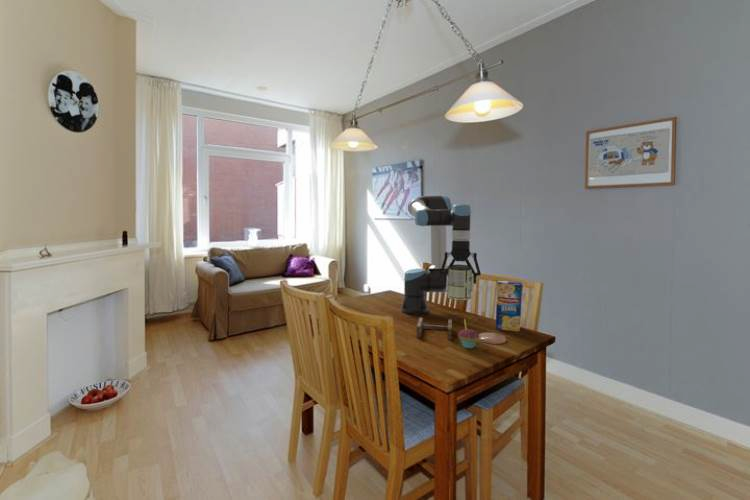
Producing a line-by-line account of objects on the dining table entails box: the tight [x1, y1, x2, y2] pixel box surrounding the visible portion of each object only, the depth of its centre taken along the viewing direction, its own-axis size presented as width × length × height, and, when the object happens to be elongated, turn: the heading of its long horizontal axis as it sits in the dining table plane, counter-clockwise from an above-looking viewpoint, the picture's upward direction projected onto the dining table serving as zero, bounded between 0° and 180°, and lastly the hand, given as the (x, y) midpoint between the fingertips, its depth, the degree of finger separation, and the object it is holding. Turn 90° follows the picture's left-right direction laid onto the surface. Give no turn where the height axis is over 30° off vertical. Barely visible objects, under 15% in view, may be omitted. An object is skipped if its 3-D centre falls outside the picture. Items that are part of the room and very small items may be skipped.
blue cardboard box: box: [495, 280, 523, 332], centre depth 173 cm, size 7×11×22 cm, turn 69°
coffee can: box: [447, 264, 473, 301], centre depth 160 cm, size 10×10×14 cm
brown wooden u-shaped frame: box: [416, 316, 453, 341], centre depth 166 cm, size 14×15×5 cm
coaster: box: [478, 332, 507, 345], centre depth 159 cm, size 12×12×1 cm
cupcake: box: [457, 317, 480, 349], centre depth 150 cm, size 9×8×12 cm
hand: (459, 290), depth 160 cm, fingers closed on coffee can, 10 cm apart
